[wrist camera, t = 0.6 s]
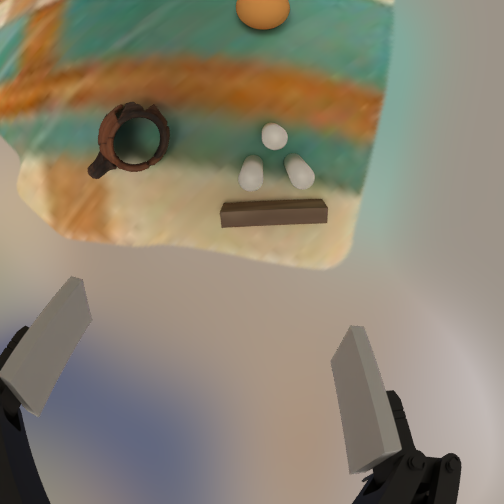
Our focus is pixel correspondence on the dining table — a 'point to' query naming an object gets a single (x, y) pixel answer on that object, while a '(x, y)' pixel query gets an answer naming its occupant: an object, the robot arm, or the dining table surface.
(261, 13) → the ball
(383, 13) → the dining table surface
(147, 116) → the pottery mug
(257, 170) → the pin
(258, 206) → the back wall
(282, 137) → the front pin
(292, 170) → the pin
